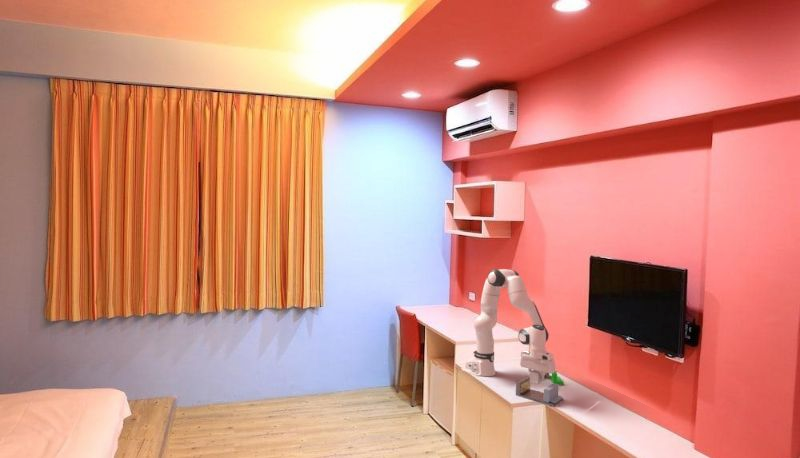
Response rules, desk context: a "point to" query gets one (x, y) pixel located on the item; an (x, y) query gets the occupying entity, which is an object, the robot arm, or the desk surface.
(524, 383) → the vise base
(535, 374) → the steel block
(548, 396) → the free jaw
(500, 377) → the desk surface
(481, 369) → the robot arm
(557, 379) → the mechanical part
